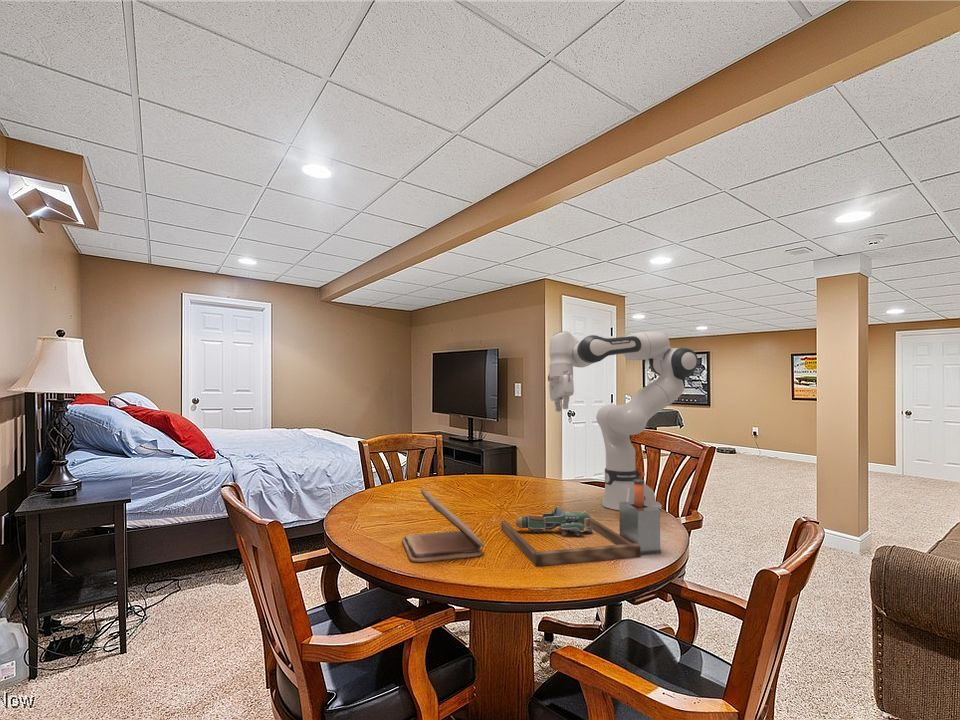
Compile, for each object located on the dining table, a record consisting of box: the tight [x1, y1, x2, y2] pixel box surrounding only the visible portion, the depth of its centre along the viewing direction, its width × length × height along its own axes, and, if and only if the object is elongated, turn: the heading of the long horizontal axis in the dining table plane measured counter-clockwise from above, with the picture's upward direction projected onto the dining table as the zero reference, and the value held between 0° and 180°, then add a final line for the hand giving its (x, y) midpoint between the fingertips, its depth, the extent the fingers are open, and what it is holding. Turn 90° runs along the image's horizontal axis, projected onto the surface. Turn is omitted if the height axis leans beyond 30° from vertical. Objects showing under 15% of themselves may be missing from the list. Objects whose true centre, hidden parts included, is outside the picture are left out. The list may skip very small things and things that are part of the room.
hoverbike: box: [514, 506, 594, 537], centre depth 154 cm, size 10×25×8 cm, turn 89°
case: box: [401, 488, 485, 563], centre depth 140 cm, size 20×21×16 cm
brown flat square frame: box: [500, 517, 642, 567], centre depth 145 cm, size 30×32×3 cm
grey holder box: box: [618, 502, 662, 556], centre depth 140 cm, size 7×10×12 cm
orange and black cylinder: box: [633, 479, 646, 508], centre depth 141 cm, size 3×3×8 cm
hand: (561, 410), depth 179 cm, fingers open, 8 cm apart
